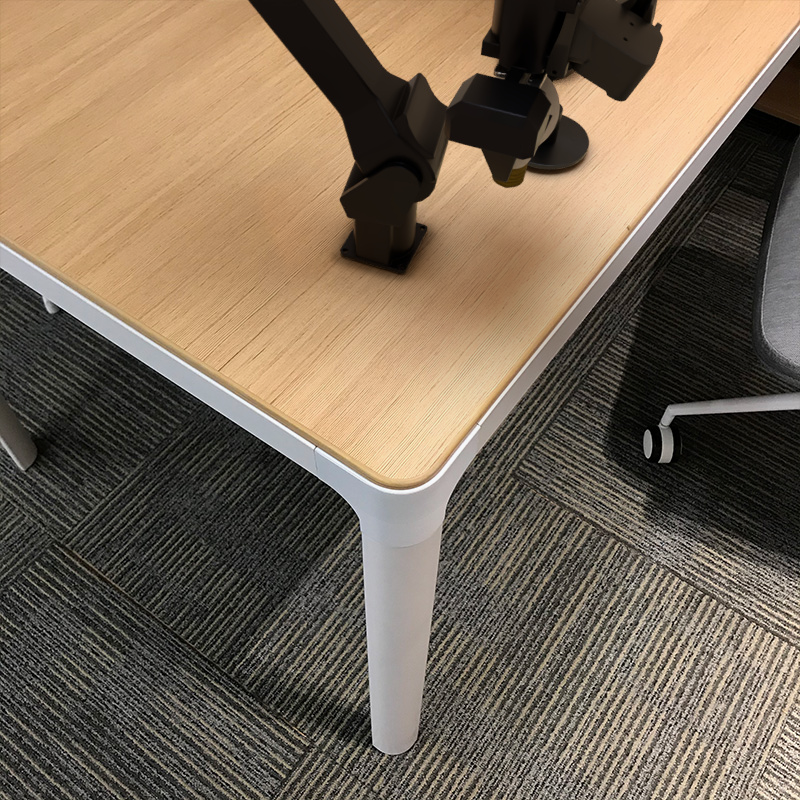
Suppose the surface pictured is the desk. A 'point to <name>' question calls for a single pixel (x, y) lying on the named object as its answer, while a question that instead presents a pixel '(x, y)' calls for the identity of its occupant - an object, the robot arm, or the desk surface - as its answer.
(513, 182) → the light bulb
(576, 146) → the bin lid
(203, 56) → the desk surface
